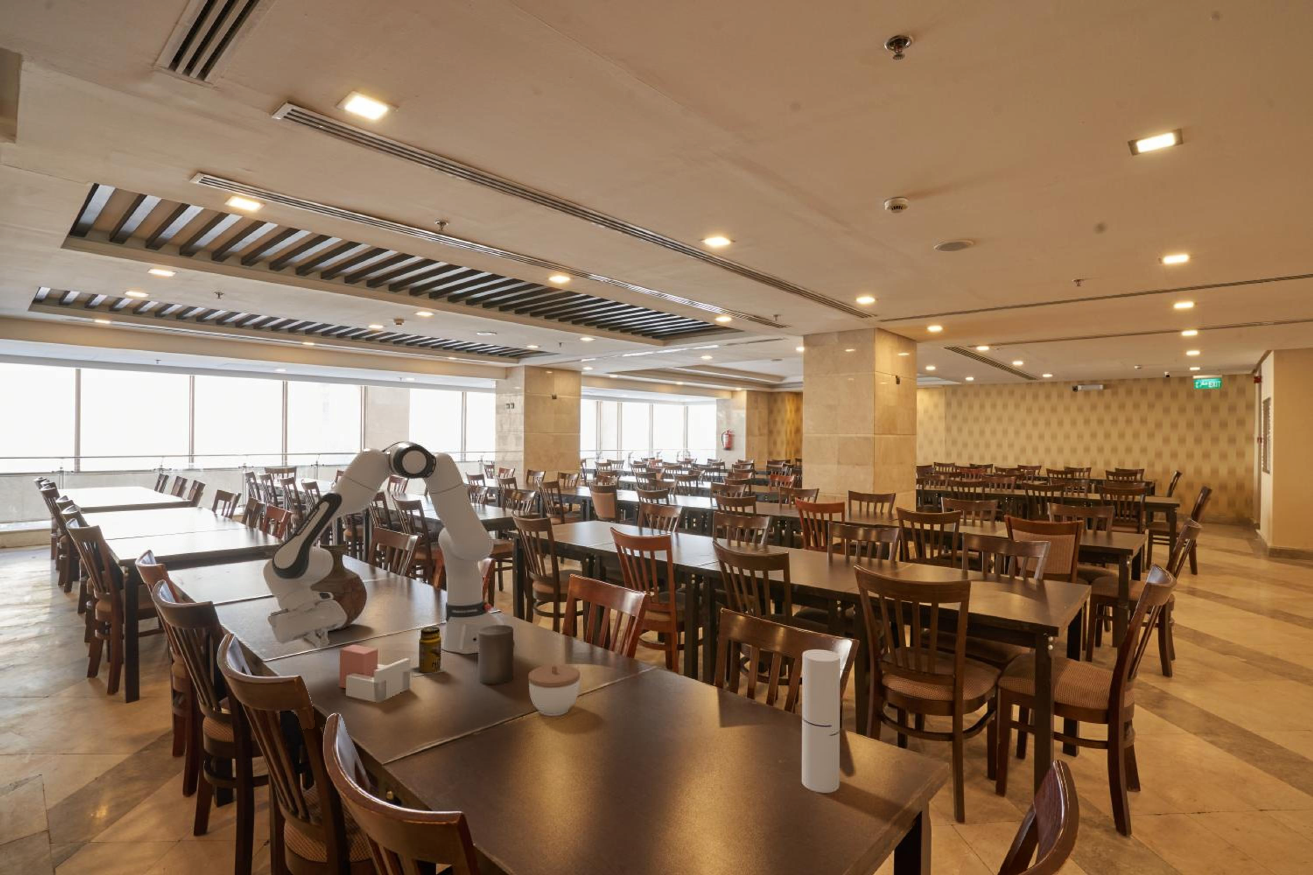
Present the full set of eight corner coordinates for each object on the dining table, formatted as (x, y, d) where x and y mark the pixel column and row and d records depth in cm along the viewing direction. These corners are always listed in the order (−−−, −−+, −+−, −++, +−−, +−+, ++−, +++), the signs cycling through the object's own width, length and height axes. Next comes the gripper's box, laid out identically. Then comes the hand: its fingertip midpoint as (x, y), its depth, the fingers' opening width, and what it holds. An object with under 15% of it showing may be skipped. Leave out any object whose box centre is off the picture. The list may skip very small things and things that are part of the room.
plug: (339, 686, 177) (339, 649, 177) (353, 680, 181) (353, 644, 181) (363, 691, 173) (364, 653, 173) (377, 686, 177) (377, 649, 177)
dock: (345, 695, 172) (346, 664, 172) (378, 681, 181) (378, 652, 181) (378, 702, 167) (378, 671, 167) (409, 688, 176) (410, 658, 177)
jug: (379, 626, 235) (379, 542, 235) (320, 641, 217) (321, 550, 217) (343, 617, 247) (343, 537, 247) (285, 631, 229) (285, 544, 229)
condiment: (444, 671, 190) (445, 629, 190) (414, 677, 185) (414, 634, 185) (438, 664, 196) (438, 623, 196) (408, 669, 191) (408, 628, 192)
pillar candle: (520, 678, 185) (520, 624, 185) (490, 687, 178) (490, 631, 178) (500, 670, 192) (500, 618, 192) (470, 678, 184) (471, 624, 185)
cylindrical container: (797, 774, 133) (797, 649, 133) (831, 773, 133) (832, 649, 133) (808, 793, 125) (809, 661, 126) (844, 791, 126) (845, 660, 126)
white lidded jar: (588, 703, 167) (588, 660, 167) (565, 723, 155) (565, 677, 155) (543, 697, 171) (544, 654, 171) (518, 716, 159) (518, 670, 160)
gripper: (270, 606, 177) (294, 648, 172) (336, 591, 195) (359, 628, 191) (259, 621, 178) (283, 663, 174) (325, 604, 197) (348, 642, 193)
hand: (323, 645), depth 183 cm, fingers closed
